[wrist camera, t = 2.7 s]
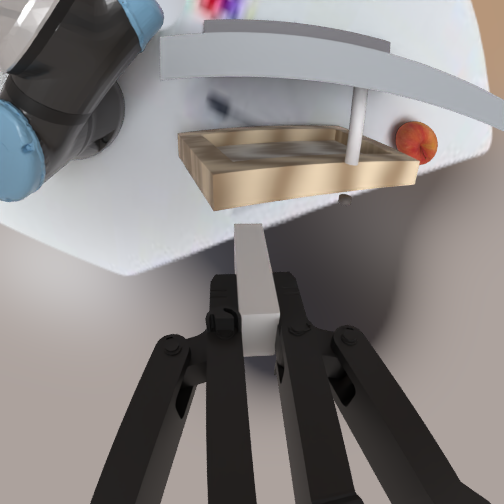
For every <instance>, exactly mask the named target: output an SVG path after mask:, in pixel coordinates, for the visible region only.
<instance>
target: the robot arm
mask: <svg viewBox="0 0 504 504" xmlns="http://www.w3.org/2000/svg"><path fill="white" fill-rule="evenodd" d="M163 20H164V15H163V11H162V9H161V8H160V6H159V4H158V3H157V2H156V0H0V71H1V72H3V73H8V74H9V76H8V78H7V80H6V82H5V84H4V86H3V88H2V90H1V92H0V200H1V201H5V202H11V201H13V202H14V201H20V200H22V199H24V198H25V197H27V196H28V195H30V194H31V193H33V192H35V191H37V190H38V189H39V188H40V187H41V186H42V185H43V183H45V182H46V181H47V180H48V179H49V178H50V177H52V176H53V175H54V174H55V173H56V172H58V171H59V170H60V169H61V168H62V167H64V166H65V165H66V164H67V163H69V162H70V161H71V160H80V159H86V158H89V157H92V156H94V155H96V154H98V153H100V152H101V151H102V150H104V149H105V148H106V147H107V146H109V145H110V144H111V143H112V141H113V140H114V139H115V138H116V136H117V134H118V133H119V131H120V129H121V126H122V123H123V119H124V110H125V107H124V98H123V95H122V92H121V89H120V87H119V85H118V84H117V82H116V80H117V79H118V78H119V76H120V75H121V74H122V73H123V71H124V70H125V69H126V68H127V66H128V65H129V64H130V63H131V62H132V60H133V59H134V58H135V57H136V56H137V55H138V54H139V52H140V53H141V52H143V51H144V49H145V46H146V44H147V43H148V42H149V41H150V39H151V38H152V37H153V36H154V35H155V34H156V33H157V32H158V30H159V29H160V28H161V26H162V25H163ZM234 254H235V274H223V275H215V276H214V278H213V279H212V281H211V285H210V311H209V312H208V313H207V316H206V325H207V329H206V330H205V331H204V332H203V333H201V334H200V335H198V336H195V337H192V338H188V339H185V338H184V337H183V336H180V335H177V334H171V335H166V336H164V337H163V338H161V339H160V340H159V341H158V343H157V344H156V346H155V348H154V350H153V352H152V354H151V357H150V359H149V361H148V363H147V365H146V368H145V370H144V372H143V374H142V377H141V379H140V381H139V383H138V386H137V388H136V390H135V392H134V395H133V397H132V399H131V402H130V404H129V407H128V409H127V411H126V413H125V416H124V418H123V421H122V423H121V426H120V428H119V430H118V433H117V435H116V438H115V440H114V442H113V445H112V448H111V450H110V452H109V455H108V458H107V460H106V463H105V465H104V468H103V471H102V473H101V476H100V478H99V481H98V484H97V487H96V489H95V492H94V495H93V498H92V500H91V503H90V504H160V503H161V499H162V496H163V493H164V489H165V486H166V483H167V480H168V476H169V473H170V469H171V467H172V463H173V460H174V457H175V454H176V451H177V447H178V444H179V440H180V437H181V434H182V431H183V428H184V425H185V422H186V419H187V415H188V412H189V409H190V406H191V403H192V399H193V397H194V393H195V390H196V387H197V385H198V384H201V383H204V382H206V442H207V484H208V504H257V502H256V493H255V483H254V472H253V462H252V451H251V440H250V429H249V417H248V406H247V393H246V382H245V369H244V357H245V356H264V355H274V353H275V352H276V364H275V370H274V375H276V374H277V379H278V386H279V393H280V399H281V406H282V413H283V419H284V427H285V433H286V440H287V447H288V454H289V460H290V468H291V475H292V481H293V489H294V495H295V502H296V504H364V503H363V501H362V499H361V498H360V497H359V496H358V495H357V494H356V492H355V489H354V485H353V481H352V476H351V471H350V467H349V462H348V458H347V454H346V450H345V445H344V441H343V437H342V432H341V428H340V424H339V420H338V416H337V412H336V408H335V404H334V401H335V402H336V404H337V406H338V408H339V410H340V412H341V413H342V415H343V417H344V419H345V420H346V422H347V424H348V426H349V428H350V429H351V431H352V433H353V435H354V437H355V438H356V440H357V442H358V444H359V445H360V447H361V449H362V451H363V453H364V455H365V457H366V458H367V460H368V462H369V464H370V466H371V467H372V469H373V471H374V472H375V475H376V476H377V478H378V480H379V482H380V484H381V485H382V487H383V489H384V491H385V492H386V494H387V496H388V498H389V500H390V501H391V503H392V504H491V503H490V502H489V501H487V500H486V499H484V498H483V497H482V496H480V495H479V494H477V493H476V492H474V491H473V490H472V489H470V488H469V487H467V486H466V485H465V484H463V483H462V482H460V480H459V478H458V476H457V475H456V473H455V471H454V470H453V468H452V467H451V465H450V463H449V462H448V460H447V458H446V457H445V455H444V453H443V452H442V450H441V449H440V447H439V445H438V444H437V442H436V441H435V439H434V438H433V436H432V434H431V433H430V431H429V430H428V428H427V427H426V425H425V424H424V422H423V421H422V419H421V417H420V416H419V414H418V413H417V411H416V410H415V408H414V407H413V405H412V404H411V402H410V401H409V399H408V398H407V397H406V395H405V393H404V392H403V390H402V389H401V387H400V386H399V385H398V383H397V382H396V380H395V379H394V377H393V376H392V375H391V373H390V372H389V370H388V369H387V367H386V365H385V364H384V363H383V361H382V360H381V358H380V357H379V355H378V354H377V353H376V351H375V350H374V348H373V347H372V346H371V344H370V343H369V341H368V340H367V339H366V337H365V336H364V334H363V333H362V332H361V331H360V330H359V329H357V328H356V327H354V326H349V325H345V326H341V327H339V328H337V329H336V331H335V332H332V331H327V330H322V329H319V328H317V327H315V326H313V325H312V323H311V322H310V321H309V320H308V319H307V317H306V313H305V310H304V306H303V303H302V299H301V296H300V292H299V289H298V285H297V282H296V279H295V277H294V276H293V275H292V274H291V273H290V272H272V270H271V265H270V261H269V255H268V251H267V246H266V241H265V237H264V232H263V227H262V224H234ZM333 399H334V400H333Z"/></svg>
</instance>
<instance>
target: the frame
mask: <svg viewBox="0 0 504 504" xmlns="http://www.w3.org/2000/svg"><path fill="white" fill-rule="evenodd" d="M348 134H349V130H348V129H345V128H342V127H340V126H317V125H286V126H255V127H237V128H224V129H212V130H202V131H193V132H184V133H178V151H179V157H180V159H181V160H182V162H183V164H184V165H185V167H186V168H187V170H188V171H189V173H190V175H191V176H192V178H193V179H194V181H195V182H196V184H197V186H198V187H199V189H200V190H201V192H202V193H203V195H204V196H205V198H206V200H207V201H208V203H209V204H210V206H211V207H212V209H213V210H214V211H218V210H223V209H229V208H235V207H241V206H247V205H254V204H260V203H266V202H273V201H280V200H287V199H294V198H301V197H308V196H315V195H323V194H331V193H339V192H347V191H355V190H364V189H373V188H383V187H393V186H402V185H413V184H415V180H416V176H417V172H418V167H419V163H420V161H418V160H416V159H414V158H412V157H410V156H408V155H406V154H404V153H402V152H400V151H398V150H395V149H393V148H391V147H389V146H387V145H384V144H382V143H380V142H377V141H375V140H373V139H370V138H368V137H365V136H363V135H362V142H361V148H360V155H359V161H358V165H349V164H346V163H345V156H346V149H347V142H348ZM351 200H352V197H351V196H349V195H346V194H340V195H339V200H338V202H339V203H340V204H341V205H345V206H349V205H351Z"/></svg>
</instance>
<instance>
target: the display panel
mask: <svg viewBox="0 0 504 504" xmlns="http://www.w3.org/2000/svg"><path fill="white" fill-rule="evenodd" d="M198 77H273V78H289V79H301V80H311V81H320V82H328V83H335V84H342V85H348V86H354V89H353V99H352V109H351V118H350V126H349V134H348V142H347V149H346V156H345V163H346V164H349V165H358V161H359V155H360V148H361V142H362V135H363V127H364V120H365V112H366V104H367V95H368V89H371V90H376V91H381V92H385V93H390V94H394V95H398V96H402V97H406V98H410V99H414V100H418V101H421V102H425V103H428V104H432V105H435V106H438V107H441V108H445V109H448V110H451V111H454V112H457V113H459V114H462V115H465V116H468V117H470V118H473V119H476V120H478V121H481V122H483V123H486V124H488V125H491V126H493V127H495V128H498V129H500V130H502V131H504V100H503V99H501V98H499V97H497V96H495V95H493V94H491V93H490V92H488V91H486V90H484V89H482V88H480V87H478V86H475V85H473V84H471V83H469V82H467V81H465V80H462V79H460V78H458V77H455V76H453V75H451V74H448V73H446V72H443V71H441V70H438V69H436V68H433V67H430V66H427V65H425V64H422V63H419V62H416V61H413V60H410V59H407V58H403V57H400V56H397V55H393V54H390V42H388V41H385V40H381V39H378V38H374V37H370V36H366V35H362V34H358V33H353V32H348V31H344V30H339V29H333V28H327V27H321V26H315V25H308V24H300V23H291V22H280V21H267V20H239V19H226V20H204V33H194V34H181V35H171V36H162V37H160V81H161V80H171V79H183V78H198Z"/></svg>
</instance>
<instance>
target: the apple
mask: <svg viewBox="0 0 504 504" xmlns="http://www.w3.org/2000/svg"><path fill="white" fill-rule="evenodd" d="M396 146H397V149H398V151H400V152H402V153H404V154H406V155H408V156H410V157H412V158H414V159H416V160H418V161H420V163H419V165H422V164H426V163H427V162H429V161H430V160H431V159H432V158H433V157H434V156H435V154H436V151H437V147H438V142H437V138H436V135H435V133H434V132H433V130H432V129H431V128H430V127H428V126H427V125H425V124H424V123H421V122H415V121H413V122H408V123H405V124H404V125H402V126H401V127H400V128H399V129H398V131H397V133H396Z"/></svg>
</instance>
